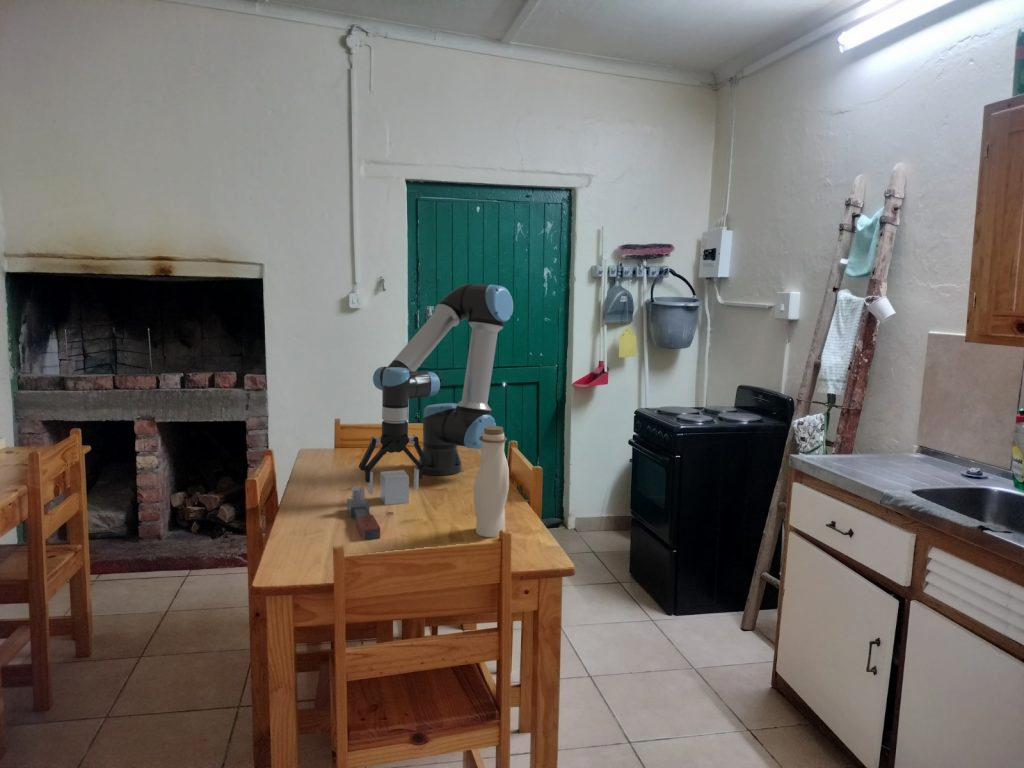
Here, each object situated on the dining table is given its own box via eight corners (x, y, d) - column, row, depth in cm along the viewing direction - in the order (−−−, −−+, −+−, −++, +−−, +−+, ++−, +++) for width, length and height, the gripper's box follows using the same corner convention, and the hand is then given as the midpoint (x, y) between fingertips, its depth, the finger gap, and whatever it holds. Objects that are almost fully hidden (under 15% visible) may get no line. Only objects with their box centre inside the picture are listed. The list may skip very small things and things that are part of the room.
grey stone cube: (403, 495, 206) (403, 470, 205) (408, 502, 199) (409, 476, 198) (380, 497, 203) (380, 471, 202) (385, 504, 197) (385, 478, 196)
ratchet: (364, 507, 194) (364, 484, 193) (381, 538, 172) (381, 511, 171) (347, 509, 192) (346, 485, 191) (361, 540, 170) (361, 513, 169)
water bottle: (472, 524, 184) (475, 422, 180) (505, 524, 185) (508, 423, 180) (473, 538, 174) (476, 431, 169) (508, 538, 174) (512, 432, 170)
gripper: (433, 417, 206) (431, 484, 209) (349, 419, 196) (348, 490, 199) (439, 421, 199) (437, 491, 202) (353, 424, 189) (352, 498, 192)
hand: (393, 491), depth 201 cm, fingers open, 13 cm apart
